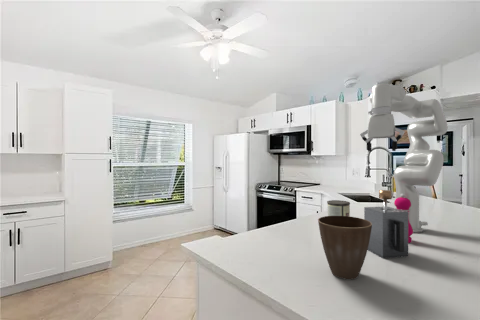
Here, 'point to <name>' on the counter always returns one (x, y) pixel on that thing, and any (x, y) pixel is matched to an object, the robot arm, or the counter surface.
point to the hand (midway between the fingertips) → (381, 151)
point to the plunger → (385, 197)
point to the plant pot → (345, 244)
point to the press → (388, 231)
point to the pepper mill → (405, 205)
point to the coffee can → (338, 208)
